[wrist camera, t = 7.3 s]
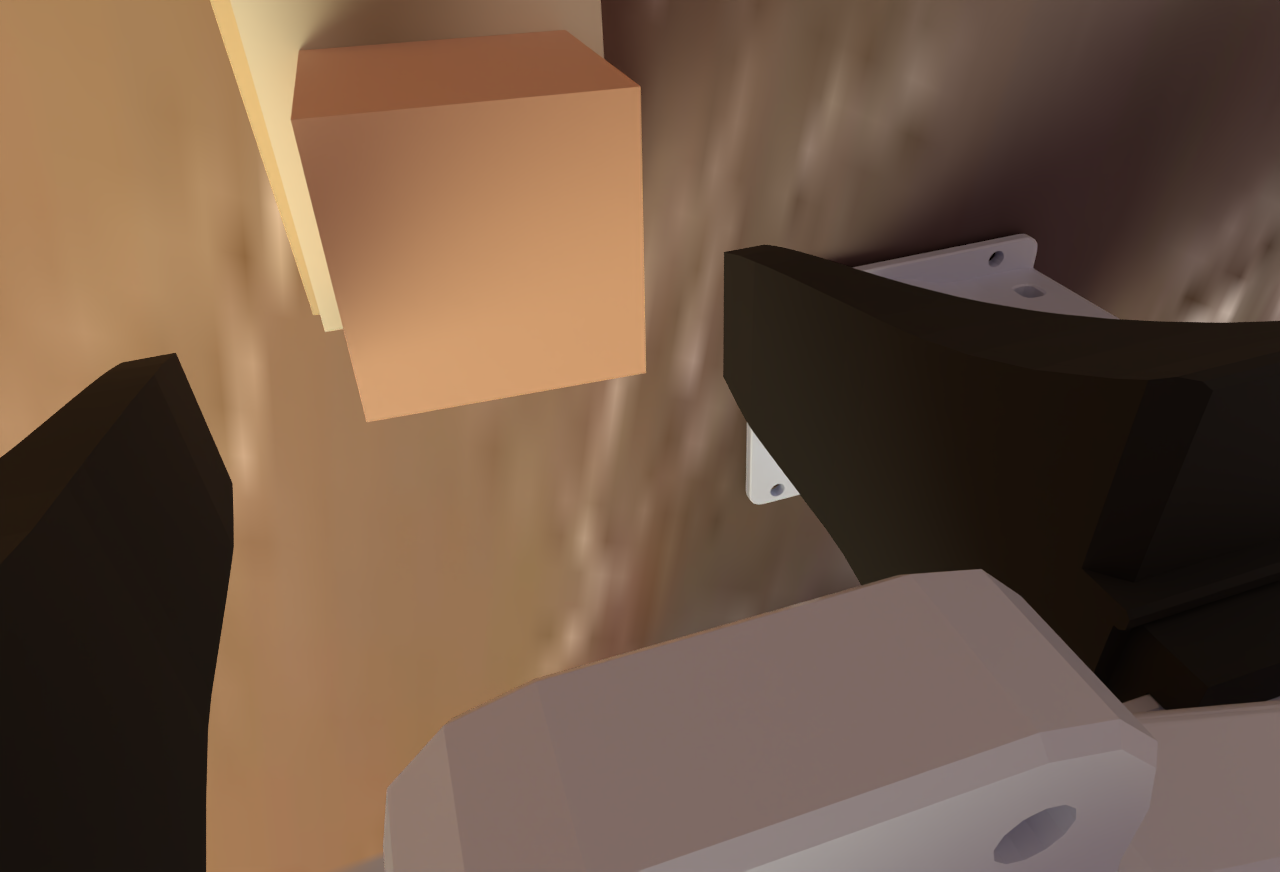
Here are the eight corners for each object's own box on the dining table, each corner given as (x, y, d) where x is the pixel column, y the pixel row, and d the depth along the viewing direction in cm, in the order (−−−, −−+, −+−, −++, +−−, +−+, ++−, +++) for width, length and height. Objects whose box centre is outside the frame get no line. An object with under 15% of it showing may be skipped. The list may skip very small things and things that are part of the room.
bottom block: (554, -87, 18) (581, -79, 16) (586, 222, 22) (612, 258, 20) (211, -52, 17) (197, -39, 15) (314, 271, 21) (313, 315, 19)
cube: (565, 29, 15) (640, 86, 11) (580, 266, 17) (646, 372, 14) (298, 50, 14) (290, 119, 10) (357, 299, 16) (366, 421, 13)
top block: (565, -52, 16) (598, -37, 14) (587, 240, 20) (616, 283, 18) (239, -27, 15) (227, -9, 13) (325, 280, 19) (325, 331, 17)
